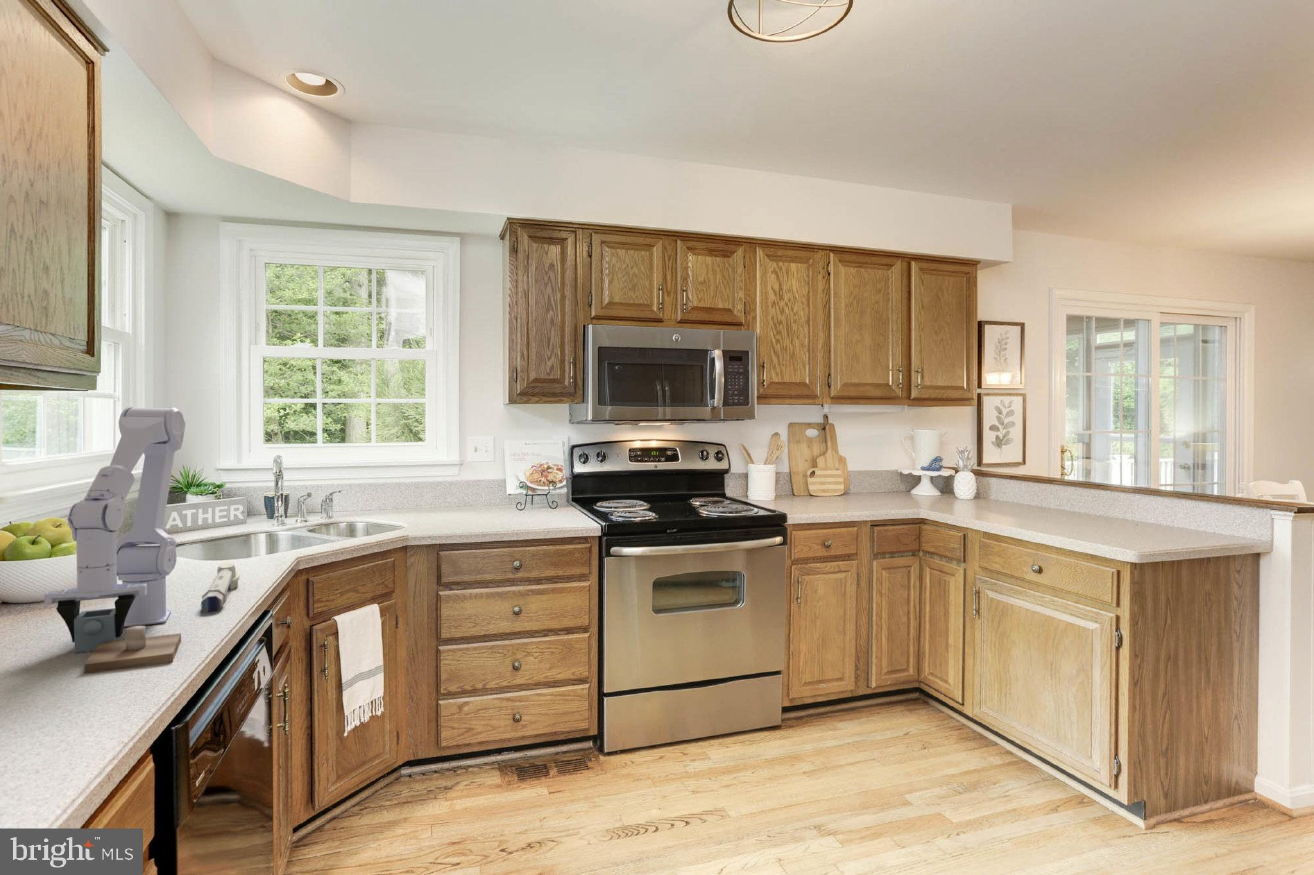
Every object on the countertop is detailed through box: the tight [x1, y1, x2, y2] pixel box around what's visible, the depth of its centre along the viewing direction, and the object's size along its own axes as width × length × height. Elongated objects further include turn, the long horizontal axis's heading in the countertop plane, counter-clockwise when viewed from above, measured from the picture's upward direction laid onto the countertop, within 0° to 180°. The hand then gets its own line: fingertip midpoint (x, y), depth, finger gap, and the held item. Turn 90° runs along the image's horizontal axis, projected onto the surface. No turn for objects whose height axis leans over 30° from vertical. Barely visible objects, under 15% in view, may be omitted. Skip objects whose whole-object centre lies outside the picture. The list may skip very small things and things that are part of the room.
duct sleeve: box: [73, 607, 121, 653], centre depth 126 cm, size 8×6×6 cm
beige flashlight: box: [200, 562, 240, 613], centre depth 160 cm, size 5×7×25 cm
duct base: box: [83, 625, 182, 674], centre depth 122 cm, size 12×12×5 cm
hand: (97, 638), depth 127 cm, fingers closed on duct sleeve, 6 cm apart
